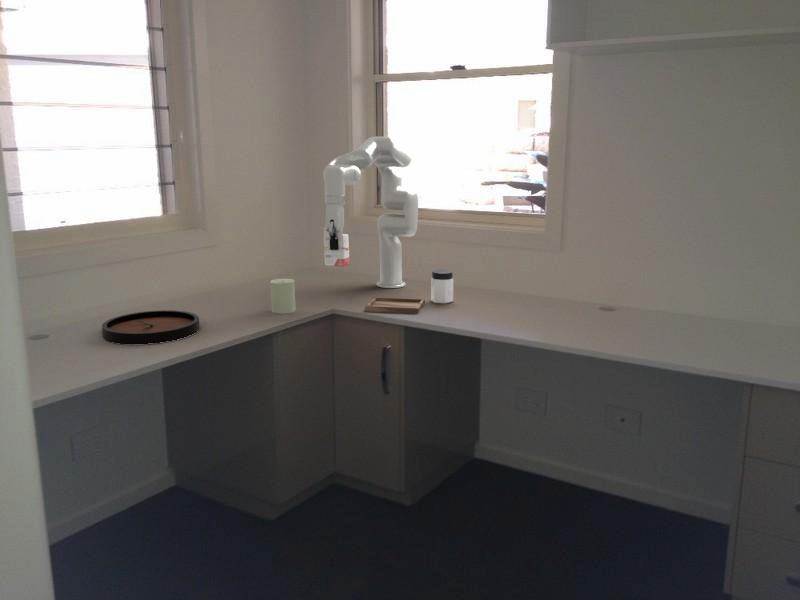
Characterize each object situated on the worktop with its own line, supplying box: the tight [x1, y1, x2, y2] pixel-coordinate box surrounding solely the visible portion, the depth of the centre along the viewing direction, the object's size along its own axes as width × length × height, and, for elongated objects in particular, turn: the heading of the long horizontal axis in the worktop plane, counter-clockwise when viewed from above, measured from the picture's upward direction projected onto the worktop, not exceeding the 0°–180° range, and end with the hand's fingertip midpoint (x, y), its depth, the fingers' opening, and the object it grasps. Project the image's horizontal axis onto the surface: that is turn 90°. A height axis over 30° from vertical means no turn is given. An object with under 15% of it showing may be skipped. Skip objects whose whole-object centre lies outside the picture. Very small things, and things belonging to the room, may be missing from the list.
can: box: [269, 278, 297, 315], centre depth 275 cm, size 9×9×12 cm
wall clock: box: [101, 309, 201, 345], centre depth 248 cm, size 31×4×31 cm
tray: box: [365, 296, 426, 315], centre depth 280 cm, size 16×20×2 cm
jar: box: [430, 269, 454, 304], centre depth 290 cm, size 9×8×12 cm
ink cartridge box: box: [322, 226, 350, 268], centre depth 276 cm, size 9×5×15 cm, turn 68°
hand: (336, 247), depth 276 cm, fingers closed on ink cartridge box, 5 cm apart
